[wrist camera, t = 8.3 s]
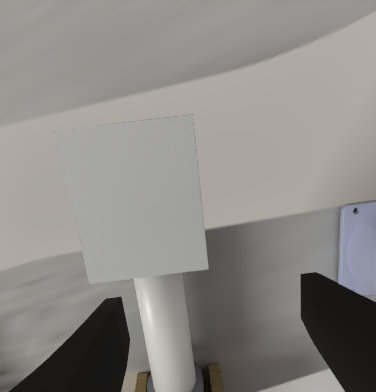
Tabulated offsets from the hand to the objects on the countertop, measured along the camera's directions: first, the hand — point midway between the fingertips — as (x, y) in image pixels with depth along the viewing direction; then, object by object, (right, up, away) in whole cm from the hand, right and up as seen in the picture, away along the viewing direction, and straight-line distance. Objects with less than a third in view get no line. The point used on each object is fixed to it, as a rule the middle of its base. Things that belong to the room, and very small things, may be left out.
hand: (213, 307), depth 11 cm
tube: (-3, -5, +10) cm, 12 cm away
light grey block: (-4, +5, +9) cm, 11 cm away
